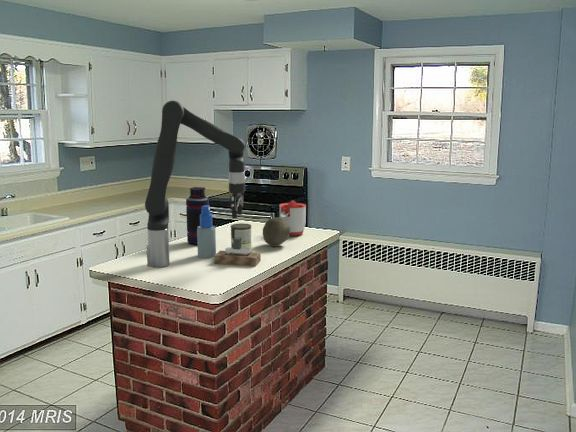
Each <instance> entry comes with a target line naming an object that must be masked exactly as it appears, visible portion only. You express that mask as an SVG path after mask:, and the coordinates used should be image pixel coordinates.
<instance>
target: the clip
mask: <svg viewBox="0 0 576 432" xmlns="http://www.w3.org/2000/svg"><path fill="white" fill-rule="evenodd" d="M224 251H225V252H227V255H232V253H243V256H248V253H249V252H250V249H249V248H241V238H236V237H235V238H234V239H233V248H231V246H230V247H228V246H227V247H226V248H225V250H224Z"/></svg>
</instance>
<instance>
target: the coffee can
mask: <svg viewBox="0 0 576 432" xmlns="http://www.w3.org/2000/svg"><path fill="white" fill-rule="evenodd" d="M235 237H236V238H241V248H249V249H250V252H252V225H251V224H249V223H243V222H242V223H233V224H231V225H230V243H231V244H230V248H233V239H234V238H235Z"/></svg>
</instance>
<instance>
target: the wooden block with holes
mask: <svg viewBox="0 0 576 432" xmlns="http://www.w3.org/2000/svg"><path fill="white" fill-rule="evenodd" d="M261 254H262V253H261V252H252V251H251V252H249V253H248V256H243V253H232V255H227V252H225V250H219V251H218V252H216V254H215V255H214V257H213V260H214V262H213V264H214V265H227V266H229V265H231V266H245V265H247V266H249V267H257V265H259V263H260V262H261V259H262V257H261ZM247 266H246V267H247Z"/></svg>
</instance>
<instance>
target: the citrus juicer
mask: <svg viewBox="0 0 576 432" xmlns="http://www.w3.org/2000/svg"><path fill="white" fill-rule="evenodd" d="M306 210H307V205H306V203H302V202H301V203H299V202H296V201H295V200H294V199H292V200H291V201H289V202H286V203H280V204H279V218H282V219H284V220H285V221H286V222H287V223H288V224H289V227H290V234H289V236H291V237H296V236H302V235H303V233H304V231H305V227H306V223H307V221H306V218H307V217H306V216H307V211H306Z"/></svg>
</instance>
